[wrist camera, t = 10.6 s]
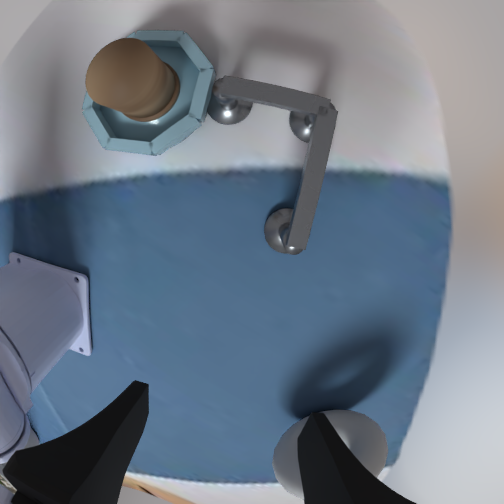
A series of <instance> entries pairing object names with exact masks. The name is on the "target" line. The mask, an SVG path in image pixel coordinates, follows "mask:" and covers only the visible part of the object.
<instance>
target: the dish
mask: <svg viewBox="0 0 504 504" xmlns="http://www.w3.org/2000/svg"><path fill="white" fill-rule="evenodd" d="M126 38H136V39H139V40H141V41H143V42H145V43H146V44H147V45H148V46H149V47H150V48H151V49H152V50H153V51H154V53H155V54H156V55H157V56H158V57H159V58H160V59H161V60H162V61H163V62H165V63H167V64H169V65H170V66H171V67H172V68H173V69H174V70H175V71H176V73H177V74H178V76H179V79H180V93H179V97H178V99H177V101H176V103H175V105H174V106H173V107H172V109H171V110H170V111H169V112H168V113H166V114H165V115H164V116H162V117H161V118H159V119H156V120H154V121H149V122H139V121H135V120H132V119H130V118H128V117H126V116H125V115H124V114H123V113H122V112H119V111H117V110H114V109H111V108H108V107H105V106H103V105H100V104H98V103H96V102H94V101H93V100H92V99H91V98H90V96H89V95H88V92H87V91H86V94H85V98H84V102H83V107H82V109H83V110H84V111H83V112H82V113H83V115H84V116H85V118H86V120H87V122H88V123H89V125H90V127H91V129H92V130H93V132H94V134H95V136H96V137H97V139H98V141H99V142H100V144H101V146H102V147H103V148H106V149H105V150H113V151H122V152H130V153H138V154H145V155H153V156H157V155H161V154H162V153H164V152H165V151H166V150H168V149H169V148H171V147H173V146H175V145H177V144H178V143H180V142H182V141H183V140H184V139H186V138H187V137H188V136H189V135H190V134H191V133H192V132H193V131H194V130H196V129H197V128H199V127H200V126H202V124H201V122H204V121H205V116H206V113H207V108H208V105H209V102H210V98H211V93H212V87H213V84H214V80H215V77H216V74H215V70H214V68H213V66H212V64H211V63H210V62H209V60H208V59H207V58H206V57H205V55H204V54H203V53H202V51H201V50H200V49H199V48H198V46H197V45H196V44H195V42H194V41H193V40H192V39H191V37H190V36H189V35H188V34H187V33H184V31H169V30H141V31H137V34H136V33H135V32H133V33H132V34H131V35H129V36H128V37H126Z"/></svg>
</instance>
